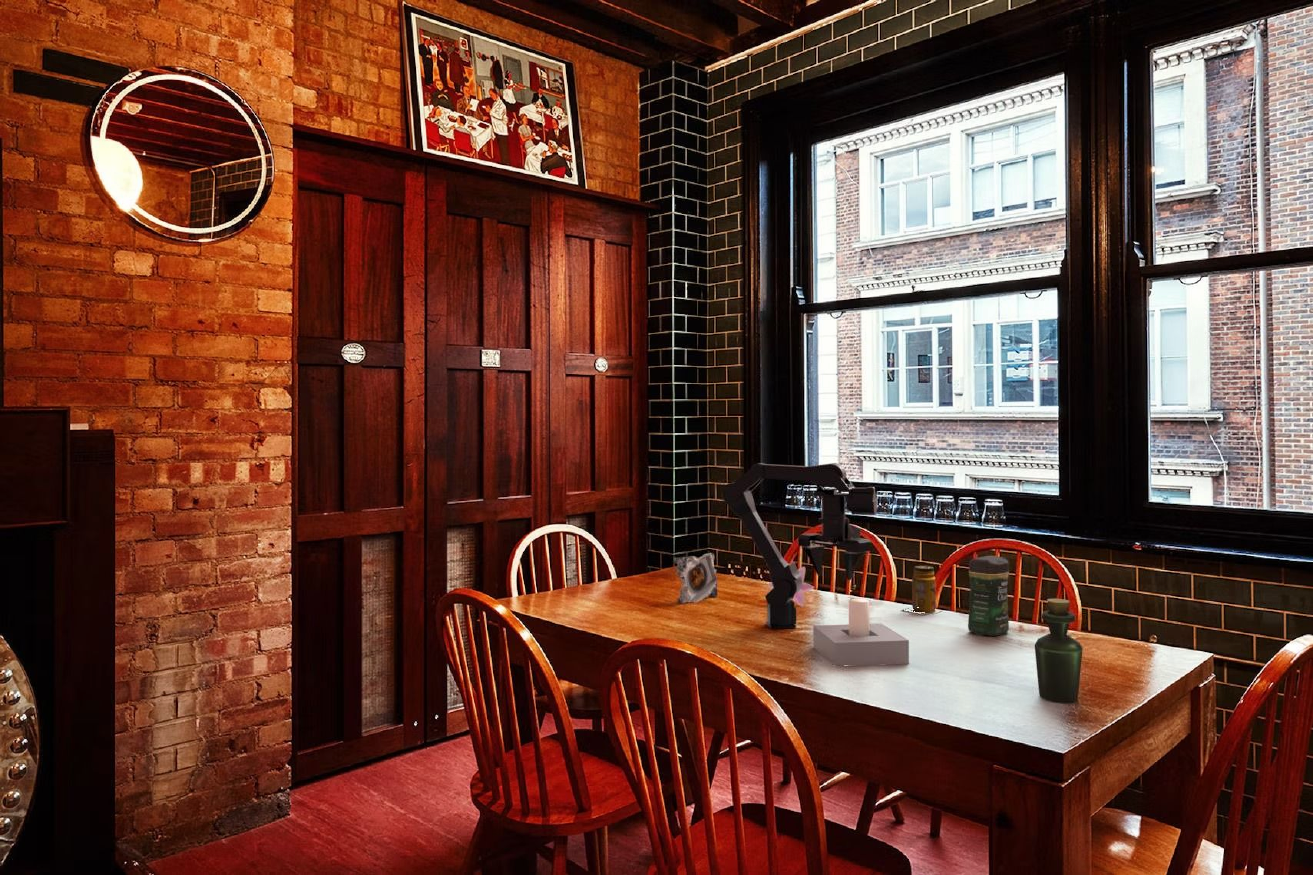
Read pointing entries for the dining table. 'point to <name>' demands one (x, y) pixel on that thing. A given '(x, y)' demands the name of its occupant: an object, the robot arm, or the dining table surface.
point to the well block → (860, 645)
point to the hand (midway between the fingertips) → (834, 577)
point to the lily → (805, 587)
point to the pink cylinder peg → (859, 617)
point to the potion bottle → (1058, 656)
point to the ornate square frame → (696, 577)
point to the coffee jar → (988, 596)
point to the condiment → (923, 590)
